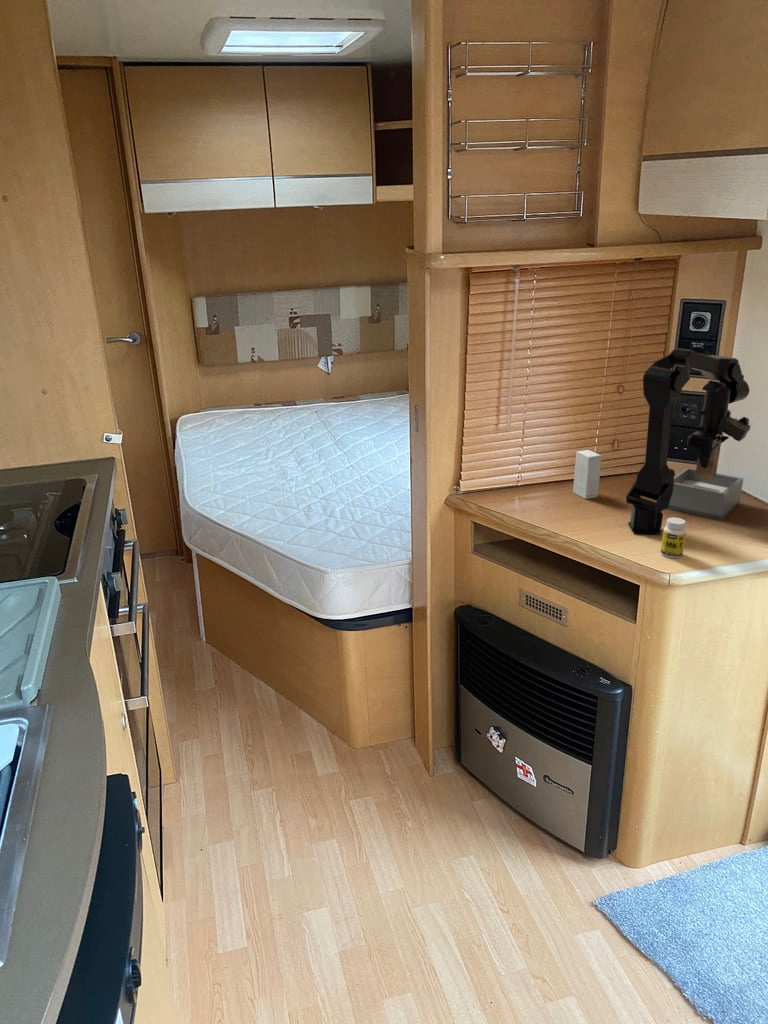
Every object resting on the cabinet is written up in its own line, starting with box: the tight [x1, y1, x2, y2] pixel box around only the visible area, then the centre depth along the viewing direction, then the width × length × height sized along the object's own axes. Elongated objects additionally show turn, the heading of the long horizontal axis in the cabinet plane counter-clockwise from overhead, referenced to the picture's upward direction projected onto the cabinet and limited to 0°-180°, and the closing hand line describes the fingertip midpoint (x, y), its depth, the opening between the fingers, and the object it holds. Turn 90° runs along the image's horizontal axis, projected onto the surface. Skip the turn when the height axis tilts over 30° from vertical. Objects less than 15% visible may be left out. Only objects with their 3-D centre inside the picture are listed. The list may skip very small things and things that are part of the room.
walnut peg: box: [695, 439, 722, 480], centre depth 201 cm, size 4×4×10 cm
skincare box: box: [572, 449, 602, 500], centre depth 212 cm, size 6×4×12 cm
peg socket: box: [667, 467, 744, 521], centre depth 204 cm, size 15×15×7 cm
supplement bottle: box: [660, 517, 687, 559], centre depth 176 cm, size 5×5×8 cm
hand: (706, 465), depth 201 cm, fingers closed on walnut peg, 4 cm apart
